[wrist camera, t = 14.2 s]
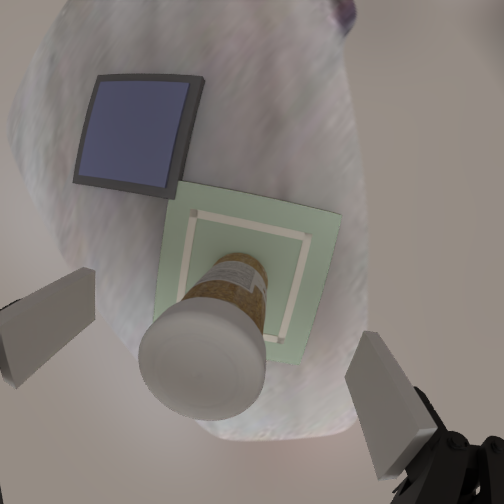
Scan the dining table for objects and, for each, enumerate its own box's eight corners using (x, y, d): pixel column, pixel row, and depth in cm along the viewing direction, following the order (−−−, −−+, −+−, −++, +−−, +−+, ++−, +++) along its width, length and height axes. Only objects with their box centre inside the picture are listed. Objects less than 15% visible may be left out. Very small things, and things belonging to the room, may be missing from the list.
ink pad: (103, 78, 20) (96, 74, 19) (205, 80, 20) (201, 75, 19) (78, 183, 22) (70, 183, 21) (178, 199, 22) (172, 200, 21)
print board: (175, 179, 22) (171, 179, 21) (339, 214, 22) (342, 215, 21) (155, 328, 24) (151, 333, 24) (298, 360, 24) (299, 366, 23)
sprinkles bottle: (259, 315, 23) (246, 437, 9) (203, 300, 23) (131, 402, 9) (275, 259, 22) (282, 336, 9) (216, 243, 22) (140, 296, 9)
